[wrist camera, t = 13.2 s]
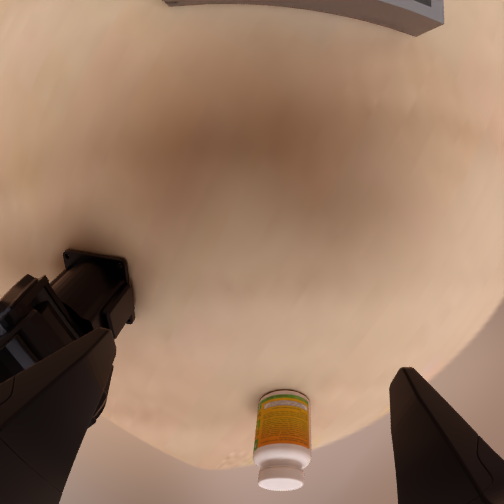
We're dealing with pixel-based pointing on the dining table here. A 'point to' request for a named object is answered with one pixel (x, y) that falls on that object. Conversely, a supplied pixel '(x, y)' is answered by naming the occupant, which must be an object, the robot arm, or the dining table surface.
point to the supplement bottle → (282, 440)
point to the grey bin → (360, 10)
